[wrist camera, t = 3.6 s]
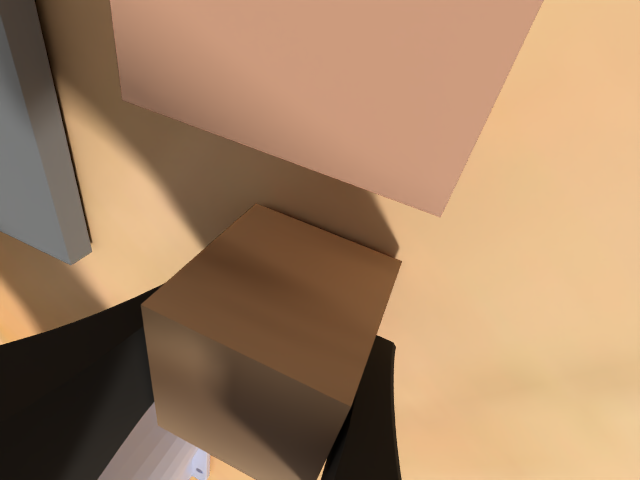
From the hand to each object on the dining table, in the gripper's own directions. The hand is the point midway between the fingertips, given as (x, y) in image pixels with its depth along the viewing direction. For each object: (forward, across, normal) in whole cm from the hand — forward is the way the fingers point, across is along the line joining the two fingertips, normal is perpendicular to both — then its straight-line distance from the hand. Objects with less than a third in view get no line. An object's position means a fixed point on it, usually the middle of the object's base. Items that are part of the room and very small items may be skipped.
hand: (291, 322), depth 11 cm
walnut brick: (+1, 0, 0) cm, 1 cm away
